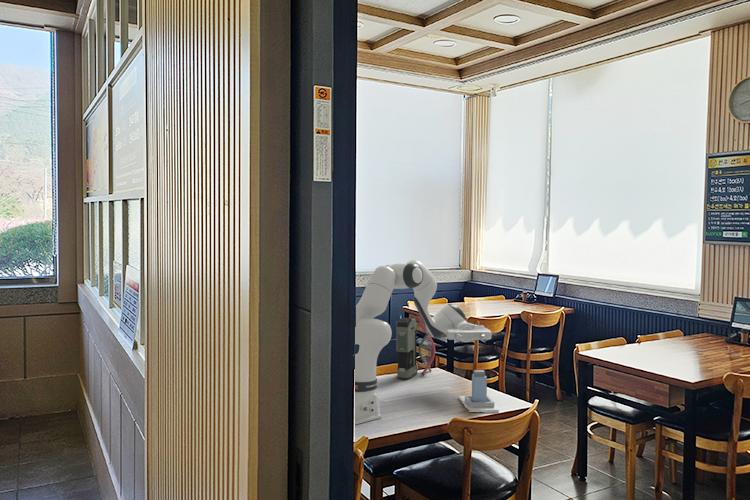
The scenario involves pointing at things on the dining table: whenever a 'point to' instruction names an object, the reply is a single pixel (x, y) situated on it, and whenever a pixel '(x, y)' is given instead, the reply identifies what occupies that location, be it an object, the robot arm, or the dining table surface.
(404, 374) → the device
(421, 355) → the dna model
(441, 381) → the dining table surface
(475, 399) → the blue-gray rectangular block
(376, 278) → the robot arm
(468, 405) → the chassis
